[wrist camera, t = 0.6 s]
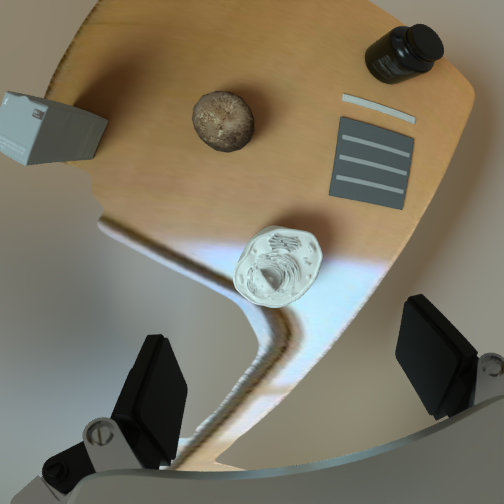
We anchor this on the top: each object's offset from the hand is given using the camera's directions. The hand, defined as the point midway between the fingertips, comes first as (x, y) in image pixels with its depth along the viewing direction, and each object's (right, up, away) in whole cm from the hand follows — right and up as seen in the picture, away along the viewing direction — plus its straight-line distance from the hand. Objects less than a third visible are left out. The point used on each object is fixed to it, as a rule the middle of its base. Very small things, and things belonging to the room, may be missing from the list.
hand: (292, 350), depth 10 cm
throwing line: (+17, +24, +22) cm, 37 cm away
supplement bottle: (+18, +31, +20) cm, 41 cm away
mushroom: (-5, +20, +23) cm, 31 cm away
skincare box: (-26, +22, +22) cm, 40 cm away
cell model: (+2, +3, +30) cm, 30 cm away
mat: (+16, +16, +25) cm, 33 cm away
